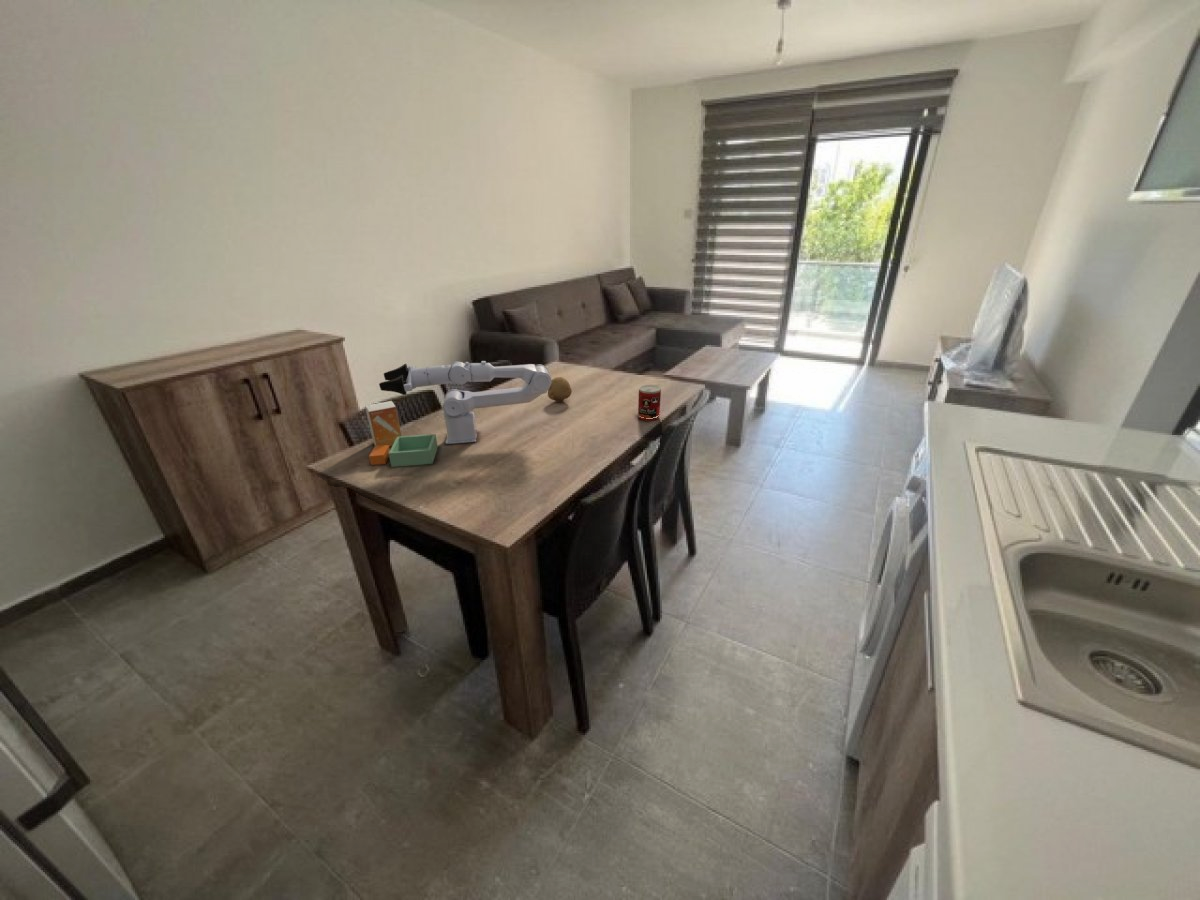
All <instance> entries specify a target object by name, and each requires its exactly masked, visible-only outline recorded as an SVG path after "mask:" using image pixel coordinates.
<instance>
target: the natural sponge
mask: <svg viewBox="0 0 1200 900" xmlns="http://www.w3.org/2000/svg"><path fill="white" fill-rule="evenodd" d="M551 379H552V383H551V386H550V388H549V389H548V391H547V397H548V399H550V400H552V401H554V402H557V403H562V402H564V400H566V399H568V398H570V397H571V395H572V392H573V391H572V388H571V384H570V382H569V381H568V380H567V379H566V378H565V377H563V376H555V377H553V378H551Z"/></svg>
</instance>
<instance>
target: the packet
mask: <svg viewBox="0 0 1200 900" xmlns="http://www.w3.org/2000/svg"><path fill="white" fill-rule="evenodd" d="M390 450H391V447H389V445H380V446H375V445H374V447H373V449H372V450H371V451H370V454H369V456H368V457H369V461H370V465H371V466H376V465H386V464H387V462H388V460H389V459H390V458H389V451H390Z"/></svg>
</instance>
